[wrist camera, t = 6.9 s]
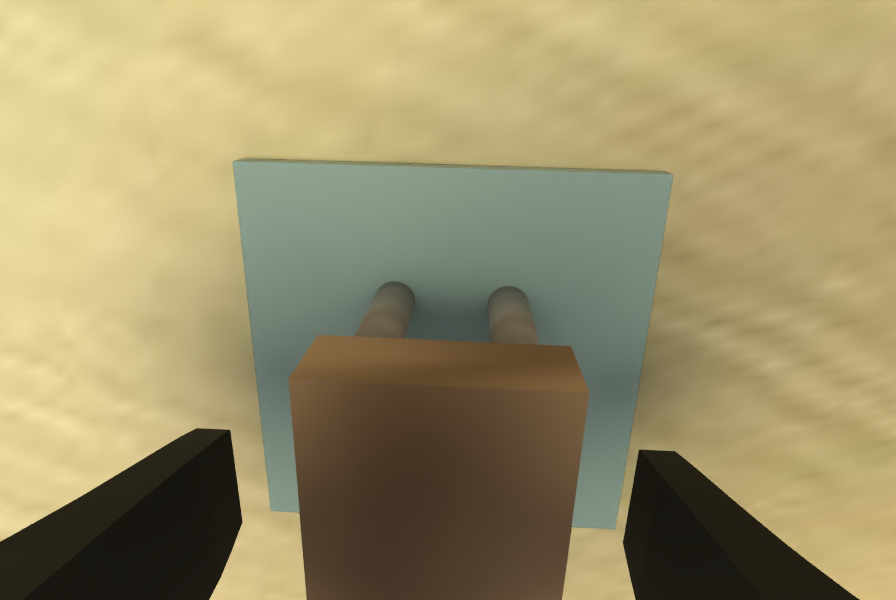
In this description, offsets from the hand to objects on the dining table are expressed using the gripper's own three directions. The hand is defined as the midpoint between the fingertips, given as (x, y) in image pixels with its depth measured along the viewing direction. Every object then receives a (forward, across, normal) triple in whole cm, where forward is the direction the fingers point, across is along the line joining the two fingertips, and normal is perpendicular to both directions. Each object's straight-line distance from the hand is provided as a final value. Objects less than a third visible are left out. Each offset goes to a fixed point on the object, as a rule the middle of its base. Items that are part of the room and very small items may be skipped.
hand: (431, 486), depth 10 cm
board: (+5, 0, 0) cm, 5 cm away
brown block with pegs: (+5, 0, 0) cm, 5 cm away
